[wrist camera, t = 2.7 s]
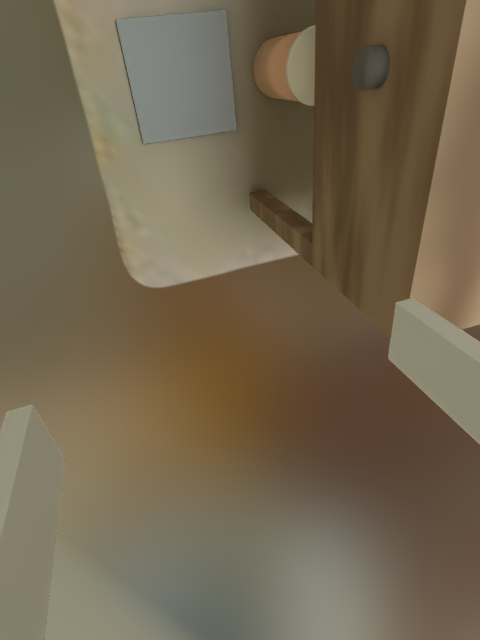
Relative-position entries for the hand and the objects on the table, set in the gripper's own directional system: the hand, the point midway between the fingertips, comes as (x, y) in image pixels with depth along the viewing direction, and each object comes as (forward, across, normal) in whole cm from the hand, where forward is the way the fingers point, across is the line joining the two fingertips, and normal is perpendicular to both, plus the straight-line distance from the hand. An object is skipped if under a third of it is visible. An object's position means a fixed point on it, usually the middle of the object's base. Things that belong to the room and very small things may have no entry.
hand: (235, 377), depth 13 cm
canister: (+33, +16, +9) cm, 38 cm away
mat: (+33, +6, +9) cm, 35 cm away
